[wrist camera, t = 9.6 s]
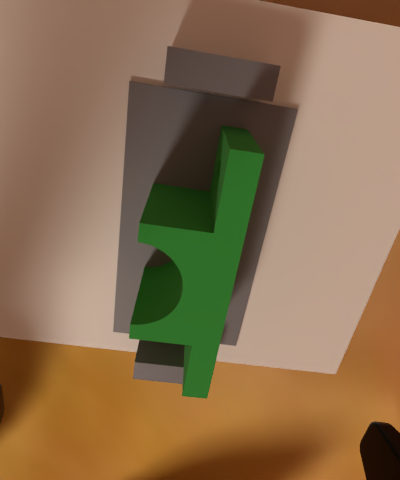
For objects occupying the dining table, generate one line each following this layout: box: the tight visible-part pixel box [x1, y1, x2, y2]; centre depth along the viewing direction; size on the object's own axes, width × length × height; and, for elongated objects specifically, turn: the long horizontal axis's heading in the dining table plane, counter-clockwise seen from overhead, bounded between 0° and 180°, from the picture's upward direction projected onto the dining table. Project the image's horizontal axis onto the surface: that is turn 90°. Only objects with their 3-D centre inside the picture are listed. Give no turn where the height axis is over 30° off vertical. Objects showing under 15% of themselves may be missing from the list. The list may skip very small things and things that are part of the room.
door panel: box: [0, 0, 400, 384], centre depth 17 cm, size 20×18×3 cm
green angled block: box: [129, 125, 265, 398], centre depth 16 cm, size 11×4×5 cm, turn 171°
